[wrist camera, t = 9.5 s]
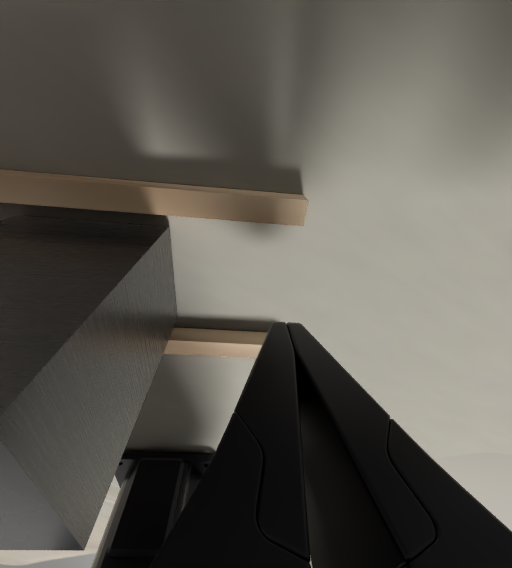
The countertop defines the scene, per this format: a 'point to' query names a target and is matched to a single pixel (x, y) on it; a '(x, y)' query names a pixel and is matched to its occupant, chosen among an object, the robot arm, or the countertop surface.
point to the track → (164, 202)
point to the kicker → (74, 366)
